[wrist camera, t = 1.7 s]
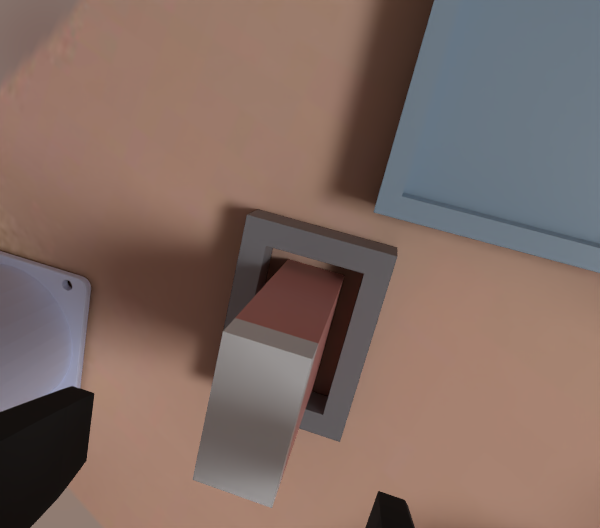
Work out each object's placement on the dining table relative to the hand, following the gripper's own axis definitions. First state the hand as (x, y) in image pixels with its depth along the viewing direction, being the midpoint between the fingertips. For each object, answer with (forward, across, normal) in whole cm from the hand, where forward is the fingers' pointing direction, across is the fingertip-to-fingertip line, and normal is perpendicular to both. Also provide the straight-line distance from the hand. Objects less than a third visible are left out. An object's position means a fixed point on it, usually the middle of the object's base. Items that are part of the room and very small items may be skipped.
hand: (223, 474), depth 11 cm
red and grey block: (+10, 0, 0) cm, 10 cm away
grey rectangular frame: (+10, 0, 0) cm, 10 cm away
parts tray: (+10, -7, -11) cm, 16 cm away
